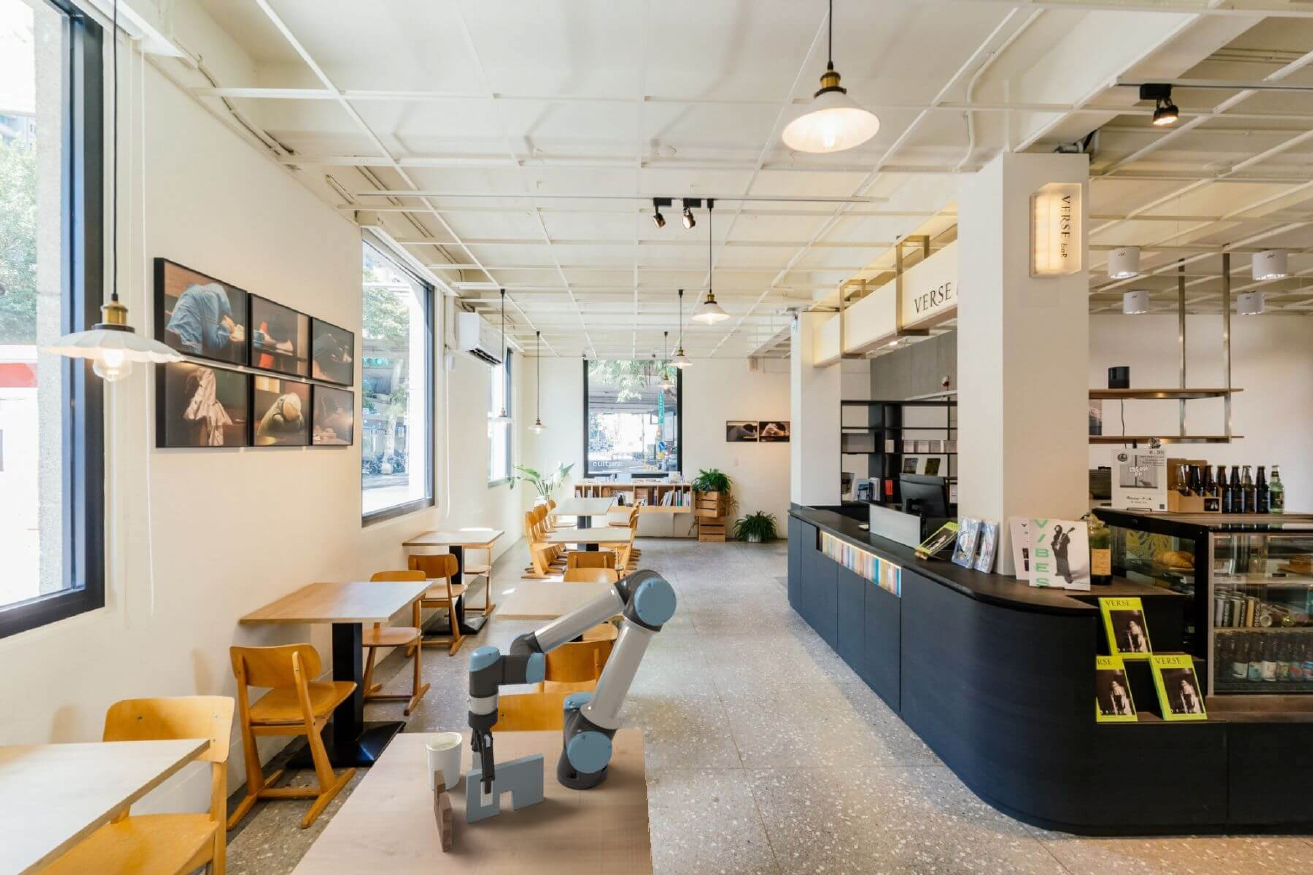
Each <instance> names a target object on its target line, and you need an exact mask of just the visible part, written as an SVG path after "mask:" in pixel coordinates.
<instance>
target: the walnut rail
mask: <svg viewBox="0 0 1313 875" xmlns="http://www.w3.org/2000/svg"><path fill="white" fill-rule="evenodd" d="M449 794H450V793H449V792H448V791H447V790H446V782H445V778H444V774H443V770H442V769H441V770H436V771H434V790H433V811H434V815H435V821H436V825H437V831H438V836H439V841H440V846H441V851H442V852H446V851H450V850H452V836H453V835H452V832H453V831H452V829H453V828H452V826H453V825H452V823H453V822H452V821H453V818H452V817H453V816H452V813H453V812H452V811H453V807H452V804H451V802H452V801H451V799H450V796H449Z"/></svg>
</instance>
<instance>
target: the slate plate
mask: <svg viewBox="0 0 1313 875" xmlns="http://www.w3.org/2000/svg"><path fill="white" fill-rule="evenodd" d="M544 758H545V757H544V755H543V754H542V753H541V752H539V753H536V754H532V755H527V756H523V757H520V758H515V759H512V760H507V761H503V762H500V763H496V764H495V763H494V769H495V781H493V800H492V804H490V805H486V806H482V807H481V782H480V779H482V778H483V777H482V768H479V769H475V770H472V769H471V770H468V771H466V772H465V773H466V774H465V775H466V778H465V780H466V782H465V784H466V785H465V820H466V823H467V824H470V823H474V822H477V821H481V820H484V819H487V818H491V817H494V816H497V815H500V814H501V794H504V793H508V792H511V795H510V797H511V799H510V800H511V801H510V805H511V807H512V810H513V811H515V810H518V809H521V808H525V807H528V806H532V805H535V804H538V803H542V802H544V780H545V779H544V777H545V776H544V775H545V774H544V773H545V772H544V771H545V770H544V769H545V768H544V765H545V760H544Z"/></svg>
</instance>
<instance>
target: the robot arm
mask: <svg viewBox="0 0 1313 875" xmlns="http://www.w3.org/2000/svg"><path fill="white" fill-rule="evenodd" d="M677 601H678V600H677V594H676V592H675V590H674V589H673V587H672V584H670V583H669V582H668V580H666V579H665V578H663V576H662V575H661V574H660V573H659V572H657V571H656V570H653V569H649V568H648V569H647V568H646V569H645V568H641V569H639V570H636V571H633V572H632V573H630V574H628V575H625V576H624V577H622V578H621V579H618V580H617V581H615V582H613V583H612V584H611V588H609V589H607V590H606V591H603V593H601V594H599V595H597V596H595V597H593V598H592V599H590V600H588V601H586V602H584V603H582V604H581V605H579V606H577V607H575V608H574V609H571V610H570V611H568V612H566V613H564V614H563V615H561V616H559V617H557V618H555V619H554V620H551V621H549V622H548V623H545V625H542V626H541V627H538V628H537V629H535V630H533V631H532V632H530V633H525V632H524V633H520V634H518V635H516V636H515V637H514V638H513V639H512V642H511V644H510V647H509V654H501V653H500V649H499V648H498V647H496V646H490V645H486V646H479V647H477V648H475V649H473V651H472V652H471V654H470V656H469V669H468V670H469V671H468V673H469V674H468V675H469V676H468V696H469V697H468V698H466V703H468V714H467V715H468V716H467V722H468V723H467V724H468V727H470V728H471V729H472V731H471V737H470V746H471V770H475V769H479V768H482V777H483V778H482V779H480V782H481V807H482V806H486V805H490V804H492V800H493V781H495V769H494V765H495V757H494V737H493V732H492V731H491V728H493V727H495V725H497V723H498V721H499V705H500V704H499V702H500V701H499V700H500V694H499V693H500V691H499V687H500V686H501V687H502V686H514V685H516V686H517V685H533V684H540V683H542V682H544V681H545V679H546V677H545V676H546V655H547V654H549V653H551V652H553V651H554V650H556V649H558V648H561V647H562V646H563V645H565V644H567V643H569V642H571V641H572V640H574V639H576V638H577V637H579V636H581V635H583V634H585V633H587V632H588V631H590V630H592V629H594V628H596V627H598V626H599V625H601V624H603V623H605V622H607V621H608V620H610V619H612V618H613V617H615V616H617V615H619V614H621V613H622V618H623V620H624V622H623V625H622V627H621V629H620V632H619V634H618V636H617V638H616V641H615V643H614V644H613V647H612V649H611V652H610V654H609V655H608V658H607V661H606V663H605V665H604V667H603V669H602V672H601V674H600V676H599V679H598V681H597V683H596V686H595V688H594V689H593V691H592V692H591V691H582V692H581V691H580V692H575V693H572V694H568V695H567V696H566V697H565V698H564V700H563V706H562V710H563V716H562V718H563V720H562V721H563V722H562V723H563V724H562V726H563V727H562V728H563V730H562V732H563V733H562V734H563V736H562V740H563V741H562V744H563V745H562V750H561V754H560V757H559V760H558V763H557V767H556V779H557V781H558V782H559V783H560V784H561V785H563V786H564V787H566V788H569V789H574V790H575V789H576V790H579V789H580V790H583V789H589V788H593V787H594V788H595V787H596V786H598V785H600V784H601V783H603V782H604V781H606V779H607V777H609V776H608V775H609V762H610V761H611V759H612V755H613V749H614V748H613V740H614V738H615V735H616V734H617V731H618V728H619V725H620V721H619V719H618V715H619V712H620V710H621V707H622V705H623V703H624V701H625V699H626V696H627V694H628V692H629V689H630V687H631V685H632V684H633V681H634V678H635V676H636V674H637V672H638V669H639V667H640V664H641V662H642V661H643V658H644V656H645V654H646V650H647V649H648V646H649V644H650V641H651V639H652V637H653V636H655V635H656V634H660V633H661V630H662V629H663V626H664V624H665V623H667V622H669V621H670V620H671V619H672V618H673V616H674V615H675V612H676V609H677V604H678V602H677Z"/></svg>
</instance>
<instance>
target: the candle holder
mask: <svg viewBox="0 0 1313 875" xmlns="http://www.w3.org/2000/svg"><path fill="white" fill-rule="evenodd" d="M463 738H464V737H463V736H462V735H461V734H460V733H458V732H453V731H452V732H451V731H449V732H447V731H446V732H443V733H439V734H436V735H434V736H432V737H430V738H429V739H428V740H427V742H426V745H425V746H426V747H425V748H426V756H427V757H426V759H427V776H428V777H427V779H428V787H429V789H431V791H434V771H436V770H441V769H442V770H443V774H444V778H445V782H446V791H447V790H450V789H451V790H452V789H453V788H454V787H455V786H457V785H458V784H459V782H460V779H461V778H460V777H461V768H462V767H461V765H462V764H461V763H462V762H461V761H462V752H463V750H462V749H463Z"/></svg>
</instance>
